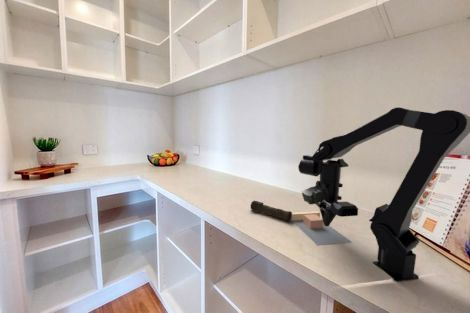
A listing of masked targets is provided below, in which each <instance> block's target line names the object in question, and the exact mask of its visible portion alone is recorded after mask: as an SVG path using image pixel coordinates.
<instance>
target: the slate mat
mask: <svg viewBox="0 0 470 313" xmlns="http://www.w3.org/2000/svg"><path fill="white" fill-rule="evenodd" d="M311 214H316V215H317V216H319V217H320V218H321V212H320V211H317V210H315V211H302V212H301V211H297V212H292V216H291V220H290V222H292V223H293V224H295V226H296V227H298V228H299V230H301V231H302V232H303V233H304V234H305V235H306V236H307V237H308V238H309V239H310V240H311V241H312V242H313V243H314V244H315V245H316V246H317V247H319V246H325V245H326V246H327V245H329V246H330V245H337V244H348V243H351V244H352V243H353V241H351V240H350V239H348V237H346V236H344V234H342V233H340V232H339V231H338V230H336V229H335V228H333V227H332V226H331V225H329V226H325V225H324V223H323V228H314V229H310V228H309V227H308V226H306V225H305V224H304V223H303V215H311Z"/></svg>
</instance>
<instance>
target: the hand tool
mask: <svg viewBox="0 0 470 313" xmlns="http://www.w3.org/2000/svg"><path fill="white" fill-rule="evenodd" d="M250 210H252V211H254V212H255V213H257V214H265V215H268V216H272V217H275V218H277V219H281V220H284V221H286V222H287V223H289V222H291V216H292V213H293V212H292V211H290V210H289V211H288V210H284V209H281V208H278V207H277V208H275V207H273V206H270V205H266V204H264V202H262V201H258V200H253V201H251V203H250Z"/></svg>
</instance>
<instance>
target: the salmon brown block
mask: <svg viewBox="0 0 470 313" xmlns="http://www.w3.org/2000/svg"><path fill="white" fill-rule="evenodd" d="M303 223H304V224H305V225H306V226H308V227H309V228H310V229H314V228H323V219H322V217H321V216H320V217H319V216H317V215H316V214H311V215H303Z"/></svg>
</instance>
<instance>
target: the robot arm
mask: <svg viewBox="0 0 470 313" xmlns="http://www.w3.org/2000/svg"><path fill="white" fill-rule="evenodd" d="M401 126H403V127H406V128H411V129H415V130H420V131H422V132H421V134H420V138H419V148H418V149H419V150H418V152H417V154H416V156H415V158H414V160H413V162H412V163H411V165H410V167H409V168H408V170H407V172H406V174H405V176H404V177H403V180H402V181H401V184H400V185H399V187H398V189H397V190H396V192H395V194H394V196H393V198H392V199H391V202H390V203H389V204H387V203H385V204H382V205H380V206H378V207H376V208H375V209H374V214H373V216H372V217H371V219H369V222H370V227H369V228H370V230H371V232H372V234H373V235H374V237H375V240H376V243H377V246H378V248H377V249H378V250H377V258H376V259H377V261H373V263H372V264H373V265H375V266H376V267H378V268H379V269H380V270H381V271H382V272H384V273H386V274H387V275H388V276H389V277H391V278H392V280H393V281H395V282H397V283H399V282H405V281H413V280H419V277H420V276H419V275H417V274H416V273H415V268H416V260H417V259H416V258H417V254H415V253H414V251H413V249H415V248H416V247H417V246H418V245H419V244H420V240H419V238H417V237H416V235H415V234H414V233H413V232H412V231H411V229H410V226H411V223H412V219H413V217H412V216H413V211H414V209H415V207H416V206H417V203H418V202H419V200H421V197H422V195H423V194H424V193H425V191H426V189H427V187H428V185H429V184H430V182H431V181H432V179H433V178H434V176H435V174H436V172H437V171H438V169H439V168H440V166H441V164H442V163H443V161H444V159H445V158H446V157H447V156H448V155H449V154H450V153H451V152H452V151H453V150H455V149H456V147H458V146H460V144H461V143H462V141H463V140H464V139H465V138H466V137H467V136H468V135H469V134H470V116H469V115H467V114H466V113H464V112H460V111H456V110H453V109H452V110H451V109H450V110H449V109H446V110H440V111H437V112H434V113H433V112H427V111H426V112H425V111H420V110H419V111H418V110H411V109H408V108H403V107H394V108H392V109H390V110H388V112H386V113H384V114H382V115H380V116H378V117H376V118H374V119H373V120H370V121H368V122H367V123H364V124H363V125H361V126H358V127H357V128H354V129H353V130H351V131H349V132H347V133H345V134H343V135H338V136H334V137H330V138H327V139H324V140H322V141H321V142H319V143H318V148H317V149H316V151H315V152H314V154H312V155H309V154H307V155H302V159H301V160H300V162H299V164H298V166H297V167H298V171H299V173H300V174H302V175H307V176H312V177H319V180H317V181H316V182H315V185H314V186H311V187H308V188H306V189H303V190H301V195H302V199H303V201H304V202H306V203H308V204H309V205H315V206H317V208H319V212H320V216H321V218H322V219H323V223H324V225H325V226H331V224H332V222H333V220H334V219H335V218H336V216H338V217H355V216H356V217H357V216H358V215H359V207H357V206H356V205H355V204H353V203H351V202H349V201H342V197H343V196H341V195H340V188H343V185H344V184H343V183H341V182H340V181H341V168H346V167H349V164H348V163H347V162H346V161H345V160H344V158H342V157H343V156H345V155H346V154H348V153H349V152H350V151H351V150H352V149H354V148H355V147H356V146H359V145H361V144H363V143H366V142H368V141H370V140H372V139H374V138H377V137H379V136H381V135H382V134H385V133H388V132H390V131H392V130H394V129H397V128H398V127H401ZM337 158H338V159H337ZM333 159H337V160H333ZM326 160H327V161H326Z"/></svg>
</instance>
